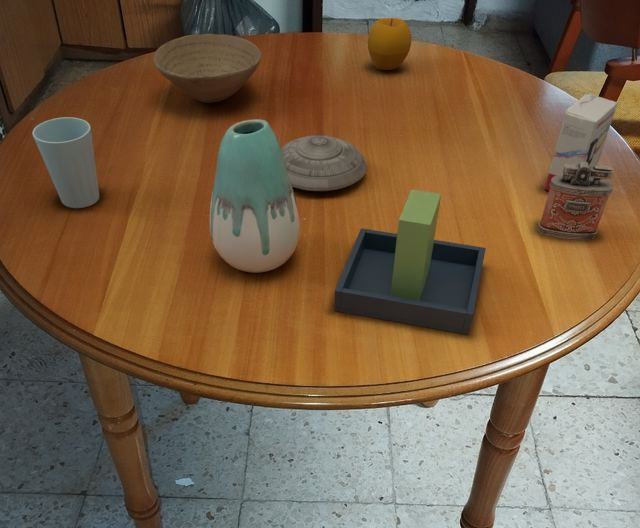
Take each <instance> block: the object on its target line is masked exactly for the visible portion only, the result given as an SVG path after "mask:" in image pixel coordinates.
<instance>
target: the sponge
mask: <svg viewBox="0 0 640 528" xmlns="http://www.w3.org/2000/svg"><path fill="white" fill-rule="evenodd" d="M441 198H442V194H441V193H438V192H437V193H436V192H431V191H424V190H419V189H411V190H410V192H409V194H408V197H407V198H406V202H405V204H404V206H403V209H402V211H401V214H400V216H399V218H398V223H397V233H396V234H397V242H396V251H395V260H394V269H393V278H392V288H391V296H392V297H398V298H404V299H409V300H415V301H420V298H421V295H422V292H423V289H424V286H425V283H426V279H427V276H428V273H429V269H430V263H431V256H432V250H433V244H434V240H435V236H436V231H437V224H438V218H439V211H440V207H441Z"/></svg>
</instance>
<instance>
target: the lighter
mask: <svg viewBox="0 0 640 528" xmlns="http://www.w3.org/2000/svg"><path fill="white" fill-rule="evenodd" d="M613 173H614V168H613V167H612V166H606V165H595V166H589V164H588V162H584V161H583V162H580V163H579V164H578V165H577V164H565V167H564V170H563V176H554V177H553V178H552V179H551V183H550V191H548V195H547V198H546V201H545V205H544V209H543V212H542V214H541V215H542V216H541V219H540V220H539V222H538V224H537V228H536V229H537V231H538V232H539V234H542V235H544V236H549V237H554V238H559V239H566V240H567V239H568V240H594V239H595V238H596V237H597V233H598V227H599V224H600V221H601V219H602V216H603V213H604V210H605V208H606V205H607V202H608V200H609V198H610V197H609V196H610V195H611V194H612V192H613V189H614V184H613V183H612V182H611V181H609V180H610V179H612V177H613ZM570 175H571V176H570ZM590 177H592V178H590Z"/></svg>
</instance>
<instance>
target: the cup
mask: <svg viewBox="0 0 640 528" xmlns="http://www.w3.org/2000/svg"><path fill="white" fill-rule="evenodd" d="M31 133H32V137H33V139H34V141H35V143H36V146H37V149H38V151H39V153H40V155H41V158H42V160H43V162H44V165H45V167H46V169H47V172H48V174H49V176H50V179H51V181H52V184H53V185H54V187H55V190H56V193H57V195H58V197H59V199H60V202H61V203H62V205H63V206H65V207H66V208H71V209H84V208H87V207H90V206H93V205H94V204H96V203H97V202H99V200H100V191H99V190H100V188H99V181H98V174H97V167H96V158H95V152H94V144H93V135H92V127H91V125H90V123H89V121H87V120H84V119H82V118H79V117H71V116H70V117H69V116H66V117H63V116H62V117H57V118H51V119H48V120H45V121H43V122H41V123H39V124H38V125H36V126H35V127H34V128H33V130H32V132H31Z"/></svg>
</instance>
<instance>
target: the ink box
mask: <svg viewBox="0 0 640 528" xmlns="http://www.w3.org/2000/svg"><path fill="white" fill-rule="evenodd" d="M617 107H618V101H614V100H610V99H607V98H605V97H601V96H598V95H595V94H591V93H585V94H584V95H583V96H581V97H580V98H579V99H578V100H577V101H576V102H574V103H573V104H572V105H571V106H570V107H568V108H567V109H566V111H565V113H564V116H563V120H562V124H561V126H560V131H559V134H558V138H557V141H556V145H555V148H554V152H553V156H552V160H551V164H550V167H549V169H548V170H549V171H548V174H547V177H546V181H545V185H544V190H545V191H547V192H549V191H550V183H551V179H552V178H553V177H554V176H563V170H564V167H565V164H577V165H578V164H579V163H580V162H583V161H584V162H588V164H589V166H595V165H598V164H599V162H600V158H601V156H602V152H603V149H604V147H605V143H606V140H607V138H608V134H609V131H610V128H611V125H612V122H613V119H614V116H615V112H616V111H617ZM570 176H571V175H570ZM590 178H592V177H590Z"/></svg>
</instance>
